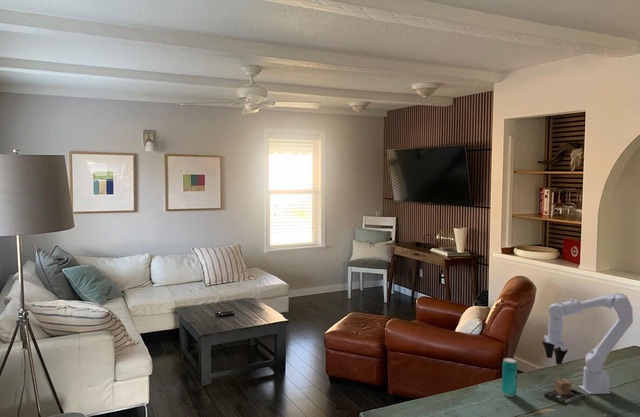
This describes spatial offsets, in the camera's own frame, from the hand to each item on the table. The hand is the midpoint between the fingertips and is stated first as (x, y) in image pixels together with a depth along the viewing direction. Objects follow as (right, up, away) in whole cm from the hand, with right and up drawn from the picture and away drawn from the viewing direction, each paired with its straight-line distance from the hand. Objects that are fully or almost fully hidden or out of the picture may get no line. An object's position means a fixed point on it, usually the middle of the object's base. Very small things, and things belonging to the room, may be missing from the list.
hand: (554, 360), depth 221 cm
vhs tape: (-2, -12, -13) cm, 17 cm away
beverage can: (-24, -11, -10) cm, 29 cm away
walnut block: (-2, -10, -12) cm, 15 cm away
